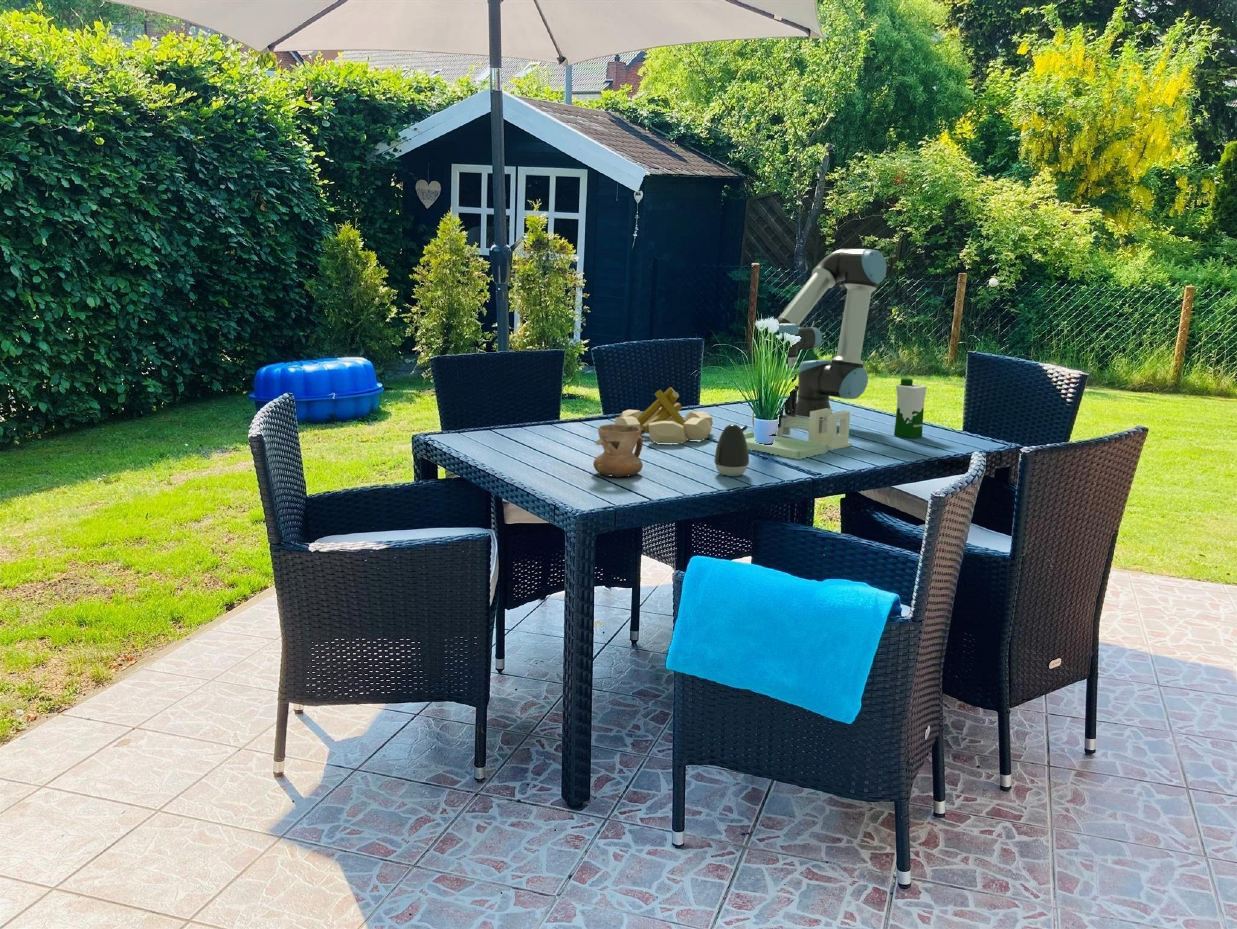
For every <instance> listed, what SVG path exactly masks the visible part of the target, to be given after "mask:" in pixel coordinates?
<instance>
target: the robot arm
mask: <svg viewBox="0 0 1237 929" xmlns="http://www.w3.org/2000/svg"><path fill="white" fill-rule="evenodd" d="M886 274H887V262H886V259H885V256H884V255H883V254H882V252H881V251H879V250H877V249H876V250H875V249H870V248H869V249H868V248H840V249H836V250H835V251H833V252H831V253H830V254H828V255H827V256H825V257H824V258H823V259H822V260H821V261H820V262H818V263H817V264H816V265H815V267H814V268H813V270H812V271H811V276H810V278H809V279H808V280H807V281H806V283H805V284H804V285H803V286H802V287H801V289H800V290H799V291H798V293H797V294H796V295H795V296H794V298H792V300H791V301H790V303H788V305H787V306H786V307H785V308H784V310H783V312H782V313H780V315H779V316H778V317H777V319H776V320H778V321H779V330H778V331H779V332H786V333H788V334H790V335H795V336H800V337H801V338H802V340H801V341H800V342H797V343H796V344H794V345H792V347H790V348H789V354H788V365H789V367H792V366H793V365H794V364H795V362H797V363H798V351H803V350H813V349H817V348H818V347H819V346H820V345H821V344H822V340H823V335H822V332H821V330H820V329H819V328H817V327H814V326H808V327H803V326H802V327H800V324H802V322H803V321H804V319H805V318H806V317H807V316H808V314H809V313H810V312H811V311H812V309H813V308H814V307H815V305H816V304H817V303H818V302H819V301H820V299H821V298H823V297H822V296H824V294H825V293H826V292H827V290H828V289H832V288H834V286H835V285H836V283H838V282H842V281H843V282H844V283H843V285H844V287H845V289H847V291H846V298H845V302H844V309H843V315H842V322H841V327H840V334H839V340H838V345H837V352H836V355H835V356H834V357H832V359H813V360H811V359H810V360H803V361H802V362H800V364H799V369H798V380H797V374H795V377H794V379H792V382H795V381H796V380H797V381H798V383H797V384H798V385H795V384H794V386H795V389H793V390H792V391H791V392H790V397H789V398H788V400H786V402H785V403H784V405H783V408H782V410H781V412H780V416H779V424H778V431H777V436H781V437H784V436H785V435H786V436H790V435H791V428H788V427H784V418H782V416H783V413H786V414H792V415H799V416H805V417H810V411H815V410H820V409H825V408H828V409H832V408H831V403H830V397H833V398H839V399H843V400H855V399H858V398H859V397H860V396H861V395H863V394H864V392H865V390H866V389H867V386H868V382H869V375H868V371H867V370H866V369H865V368H864V366H865V363H864V362H863V361H862V359H861V357H862V352H863V347H864V346H863V344H864V340H865V333H866V326H867V320H868V315H869V309H870V303H871V298H872V297H871V296H872V293H873V292H874V291H876V290H877V287H878V284H880V283H882V282H883V281H884V279H885V278H886ZM796 373H797V370H796ZM819 419H822V417H820V418H819Z"/></svg>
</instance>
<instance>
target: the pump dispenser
mask: <svg viewBox="0 0 1237 929" xmlns="http://www.w3.org/2000/svg"><path fill="white" fill-rule="evenodd" d="M747 429H748V426H747V425H744V426H743V425H742V426H741V427H740V426H739V425H737V424H733V423H732V424H728V425H726V427H724V429H723V430H722V432H721V434H720V436H719V438H718V441H717V444H716V449H715V453H714V462H713V463H714V464H715V467H716V470H717V471H718V473H719V474H720V473H721V474H720V475H722V476H724V475H727V476H726V477H729V476H736V477H739V475H740V476H741V475H743V474H745V472H747V469H748V466H749V464H750V455H749V450H748V447H747V443H746V439H745V436H744V434H743V433H744V431H746V430H747Z"/></svg>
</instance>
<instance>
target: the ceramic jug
mask: <svg viewBox="0 0 1237 929" xmlns="http://www.w3.org/2000/svg"><path fill="white" fill-rule="evenodd" d="M597 432H598V437H599V439H597V440H596V441H595V445H596V446H602V448H603V452H602V453H601V454H599V455H598V456H596V457H595V458H594V460H593V468H594V470H595V471H596V472H597V473H598V474H600V473H601V475H603V474H604V475H603V476H606V475H612V476H627V477H629V476H628V475H632V476H635V475H636V474H638V473H640V472H641V471H642V469H643V465H644V464H643V461H642V460H641V459H640V458H639V457H640V455H641V451H642V449H643V442H644V441H643V438H642V436H641V434H640V428H639V427H637V426H634V425H626V424H614V423H610V424H602V425H600V426H598V427H597ZM639 434H640V436H639ZM633 451H634V452H633ZM634 474H635V475H634Z"/></svg>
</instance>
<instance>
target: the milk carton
mask: <svg viewBox="0 0 1237 929" xmlns="http://www.w3.org/2000/svg"><path fill="white" fill-rule="evenodd" d="M913 382H914V380H913V379H912V378H906V377H905V378H901V379H900V384H897V385H896V386H895V389H896V409H895V411H896V413H895V424H894V432H893V436H894V435H895V436H894V437H901V438H905V439H910V438H911V439H916V438H920V437H923V427H924V410H925V400H926V393H927V388H928V386H926V385H921V384H914V383H913Z"/></svg>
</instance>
